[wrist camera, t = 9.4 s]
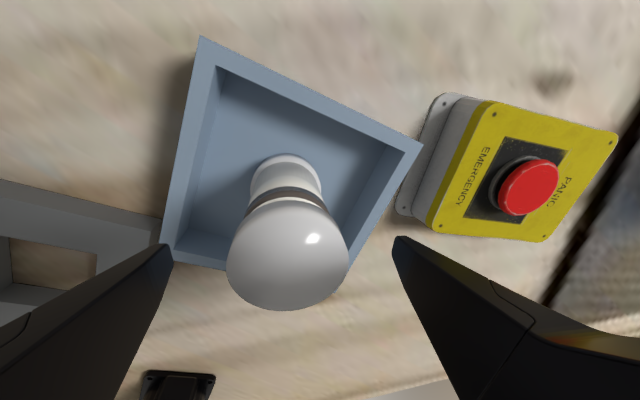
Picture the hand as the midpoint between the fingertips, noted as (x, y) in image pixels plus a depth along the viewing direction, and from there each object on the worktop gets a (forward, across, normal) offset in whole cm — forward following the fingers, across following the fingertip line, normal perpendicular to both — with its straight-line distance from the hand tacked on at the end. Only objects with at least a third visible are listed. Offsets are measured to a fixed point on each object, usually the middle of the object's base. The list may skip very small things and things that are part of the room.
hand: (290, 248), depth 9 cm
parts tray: (+8, 0, 0) cm, 8 cm away
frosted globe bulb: (+7, 0, 0) cm, 7 cm away
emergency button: (+8, -16, -1) cm, 18 cm away
